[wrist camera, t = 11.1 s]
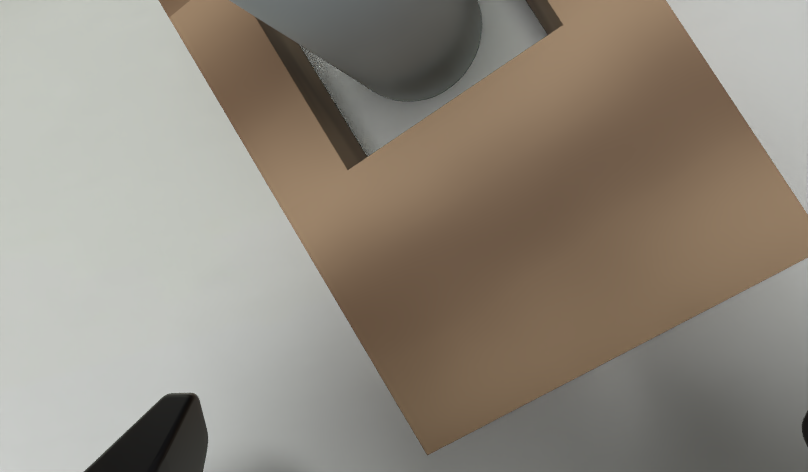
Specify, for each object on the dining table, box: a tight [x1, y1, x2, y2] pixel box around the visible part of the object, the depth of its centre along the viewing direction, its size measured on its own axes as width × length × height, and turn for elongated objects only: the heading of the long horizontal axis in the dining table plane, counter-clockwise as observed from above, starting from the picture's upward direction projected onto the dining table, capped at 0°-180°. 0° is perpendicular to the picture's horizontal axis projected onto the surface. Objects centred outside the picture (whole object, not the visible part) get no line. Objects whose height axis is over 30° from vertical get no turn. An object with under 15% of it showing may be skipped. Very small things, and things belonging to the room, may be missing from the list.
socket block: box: [159, 0, 808, 455], centre depth 17 cm, size 16×11×3 cm
